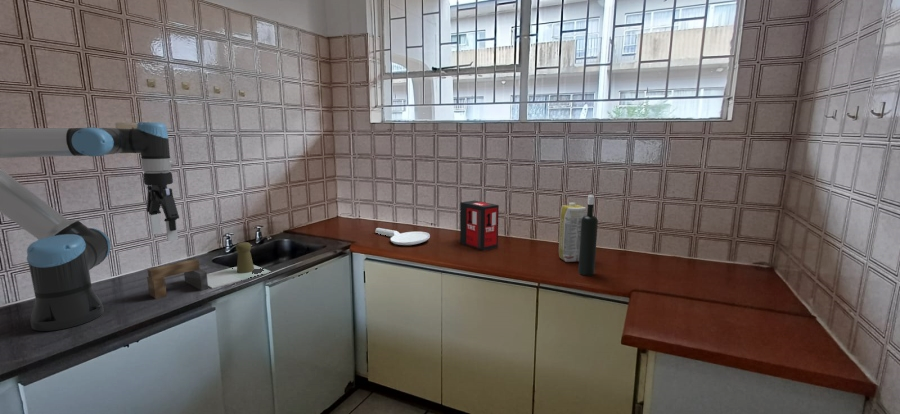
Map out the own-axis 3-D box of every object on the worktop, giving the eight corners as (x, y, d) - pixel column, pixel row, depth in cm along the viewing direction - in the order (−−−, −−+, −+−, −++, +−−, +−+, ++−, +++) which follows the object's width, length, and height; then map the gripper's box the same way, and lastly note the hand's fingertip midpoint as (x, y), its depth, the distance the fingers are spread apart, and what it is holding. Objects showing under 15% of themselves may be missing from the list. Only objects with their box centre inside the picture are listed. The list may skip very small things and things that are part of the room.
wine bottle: (579, 270, 158) (583, 193, 153) (594, 271, 156) (599, 194, 150) (577, 274, 153) (582, 195, 147) (593, 276, 151) (599, 196, 145)
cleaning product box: (460, 243, 196) (460, 202, 193) (474, 240, 202) (474, 200, 198) (483, 250, 184) (484, 207, 180) (497, 247, 189) (498, 205, 186)
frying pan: (363, 240, 209) (362, 232, 208) (392, 231, 222) (391, 223, 222) (409, 250, 185) (408, 241, 185) (438, 240, 199) (437, 230, 198)
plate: (212, 288, 139) (212, 287, 139) (192, 278, 148) (192, 277, 148) (270, 272, 155) (270, 271, 155) (249, 264, 165) (249, 263, 165)
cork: (247, 273, 152) (244, 245, 150) (233, 272, 153) (230, 244, 151) (257, 268, 158) (255, 241, 156) (244, 267, 159) (241, 240, 157)
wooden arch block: (160, 302, 128) (157, 274, 126) (145, 291, 136) (141, 266, 135) (208, 289, 139) (205, 263, 137) (191, 280, 147) (188, 256, 146)
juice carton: (577, 256, 176) (580, 201, 171) (585, 261, 168) (589, 204, 164) (556, 257, 174) (559, 202, 170) (564, 263, 166) (567, 205, 162)
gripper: (186, 173, 125) (193, 240, 129) (157, 168, 140) (163, 229, 143) (158, 175, 119) (166, 245, 123) (130, 170, 134) (138, 233, 137)
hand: (164, 237), depth 133 cm, fingers open, 13 cm apart
